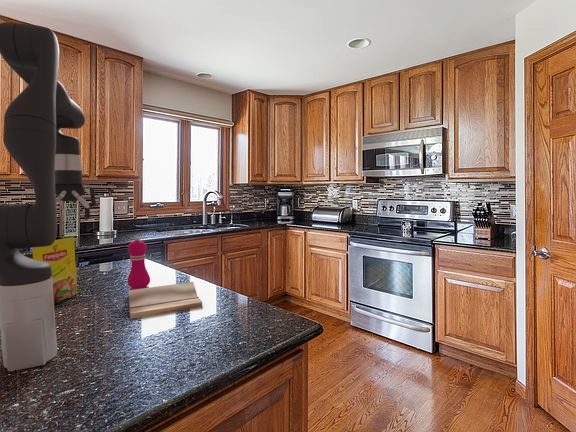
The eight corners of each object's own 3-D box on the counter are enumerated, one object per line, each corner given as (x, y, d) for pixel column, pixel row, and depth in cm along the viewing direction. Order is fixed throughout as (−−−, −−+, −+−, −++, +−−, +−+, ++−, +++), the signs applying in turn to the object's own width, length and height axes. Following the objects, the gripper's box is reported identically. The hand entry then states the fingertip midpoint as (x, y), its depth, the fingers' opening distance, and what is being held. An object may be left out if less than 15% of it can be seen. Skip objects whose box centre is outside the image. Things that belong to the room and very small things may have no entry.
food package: (38, 309, 103) (33, 244, 102) (35, 309, 104) (30, 244, 102) (78, 294, 118) (75, 237, 117) (75, 293, 119) (72, 236, 117)
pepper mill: (123, 294, 117) (120, 237, 115) (141, 289, 123) (138, 234, 122) (137, 297, 114) (134, 238, 112) (155, 291, 120) (152, 235, 118)
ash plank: (197, 300, 110) (197, 297, 109) (130, 311, 101) (130, 307, 100) (192, 285, 115) (193, 281, 114) (128, 293, 106) (128, 290, 105)
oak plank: (202, 306, 104) (202, 301, 104) (130, 318, 95) (130, 312, 95) (198, 301, 109) (198, 296, 109) (129, 313, 100) (129, 307, 99)
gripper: (38, 168, 102) (42, 222, 103) (93, 169, 109) (96, 220, 110) (42, 170, 108) (45, 220, 109) (94, 170, 115) (96, 218, 116)
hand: (71, 220), depth 110 cm, fingers open, 8 cm apart
